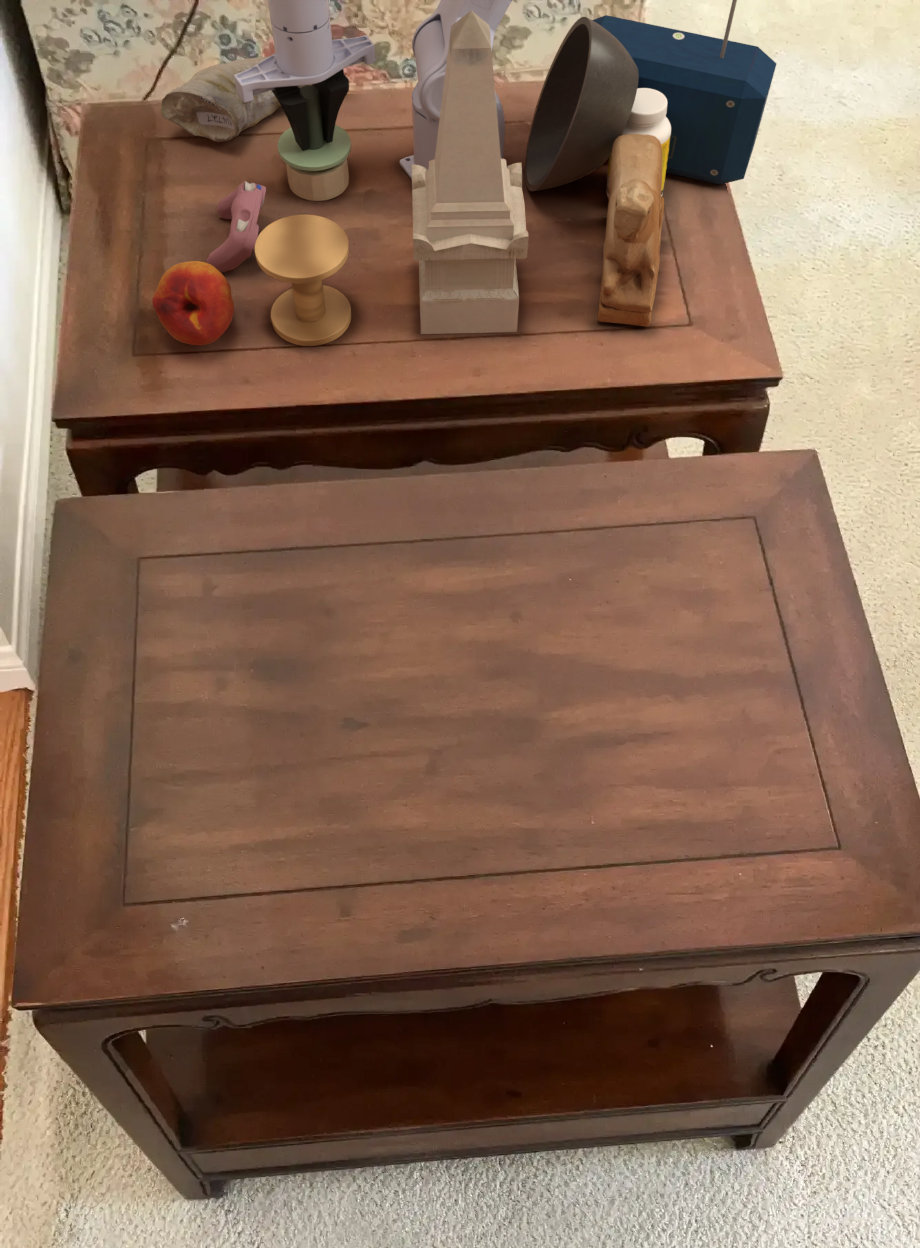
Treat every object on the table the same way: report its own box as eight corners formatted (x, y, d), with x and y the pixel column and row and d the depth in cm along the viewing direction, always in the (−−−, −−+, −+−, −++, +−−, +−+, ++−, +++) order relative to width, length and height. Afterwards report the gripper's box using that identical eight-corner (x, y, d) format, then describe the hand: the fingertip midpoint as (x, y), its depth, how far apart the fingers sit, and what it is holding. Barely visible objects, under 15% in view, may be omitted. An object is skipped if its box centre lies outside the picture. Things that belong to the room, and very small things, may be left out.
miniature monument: (515, 262, 120) (532, -28, 94) (521, 335, 114) (541, 47, 88) (415, 264, 119) (404, -26, 94) (416, 337, 114) (406, 49, 88)
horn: (244, 123, 120) (173, 49, 118) (217, 187, 130) (151, 119, 128) (354, 41, 128) (289, -29, 127) (321, 107, 139) (260, 43, 137)
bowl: (655, 104, 106) (592, 94, 105) (578, 227, 127) (524, 220, 126) (653, -10, 108) (590, -22, 107) (577, 129, 130) (524, 121, 128)
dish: (333, 155, 129) (330, 129, 126) (359, 189, 126) (357, 163, 123) (279, 173, 127) (275, 147, 124) (304, 208, 124) (300, 182, 121)
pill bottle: (673, 200, 124) (687, 106, 115) (626, 219, 123) (636, 125, 114) (641, 170, 127) (652, 76, 118) (594, 188, 126) (602, 94, 117)
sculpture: (590, 325, 115) (607, 200, 102) (603, 213, 123) (620, 85, 110) (654, 331, 114) (679, 206, 101) (661, 219, 123) (685, 91, 110)
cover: (332, 116, 125) (327, 60, 120) (363, 157, 122) (359, 101, 116) (266, 137, 123) (258, 81, 118) (295, 179, 120) (288, 123, 114)
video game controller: (244, 288, 119) (266, 240, 114) (202, 272, 118) (222, 222, 112) (255, 225, 125) (277, 176, 119) (214, 208, 123) (234, 158, 118)
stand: (332, 276, 118) (324, 203, 111) (370, 330, 114) (364, 258, 107) (253, 304, 116) (239, 232, 108) (289, 360, 112) (277, 289, 104)
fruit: (147, 350, 113) (127, 287, 106) (183, 295, 117) (166, 231, 110) (220, 369, 111) (204, 307, 105) (254, 314, 115) (242, 250, 109)
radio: (753, 147, 130) (802, -33, 113) (739, 194, 125) (787, 15, 108) (575, 107, 133) (597, -73, 116) (555, 152, 128) (574, -29, 111)
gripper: (350, -24, 114) (359, 100, 126) (213, 15, 110) (236, 140, 122) (381, 12, 111) (388, 136, 122) (242, 53, 107) (262, 178, 119)
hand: (314, 140), depth 122 cm, fingers closed on cover, 2 cm apart
